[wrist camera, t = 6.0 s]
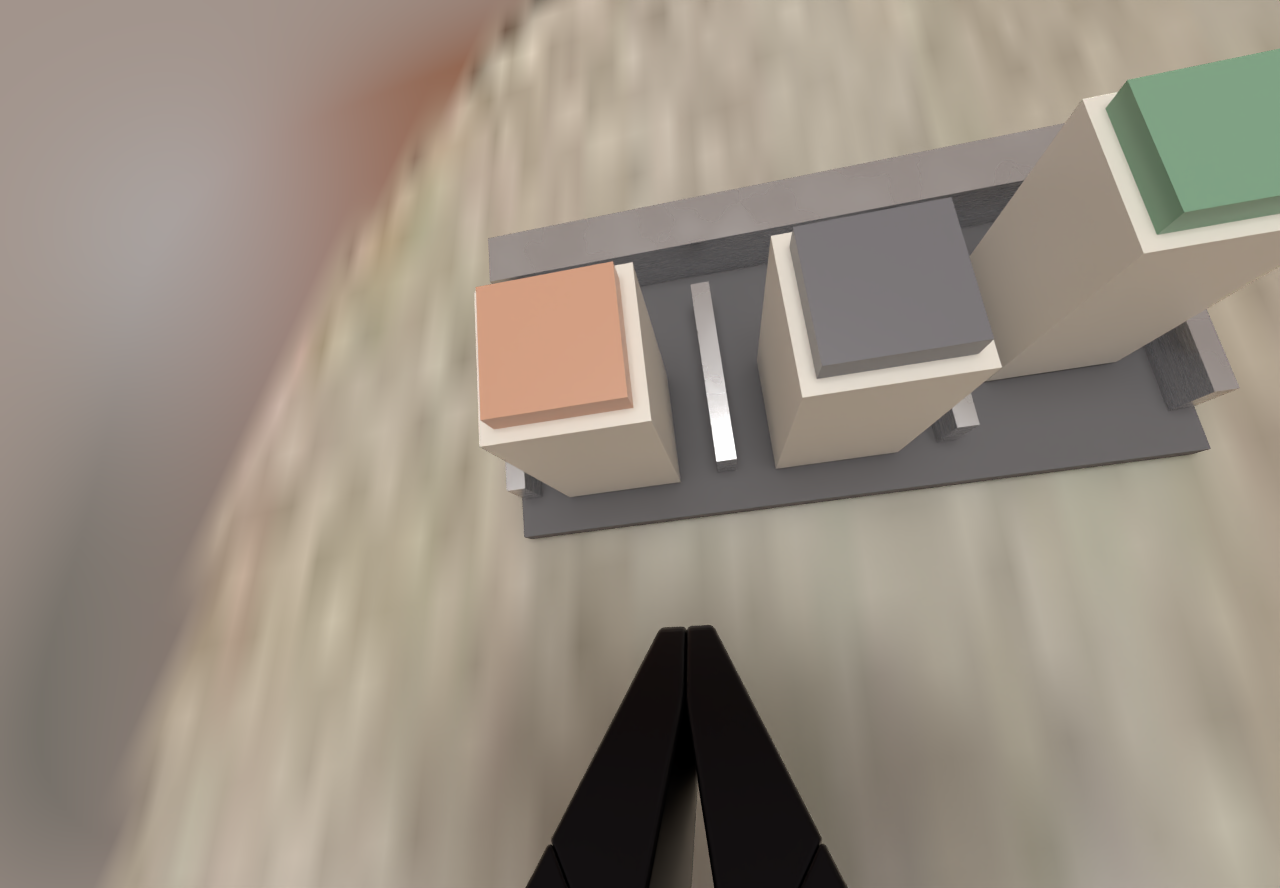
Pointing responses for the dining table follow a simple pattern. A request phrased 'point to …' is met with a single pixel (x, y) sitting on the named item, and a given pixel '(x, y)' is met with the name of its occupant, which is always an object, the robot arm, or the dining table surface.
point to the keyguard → (749, 216)
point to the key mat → (997, 448)
